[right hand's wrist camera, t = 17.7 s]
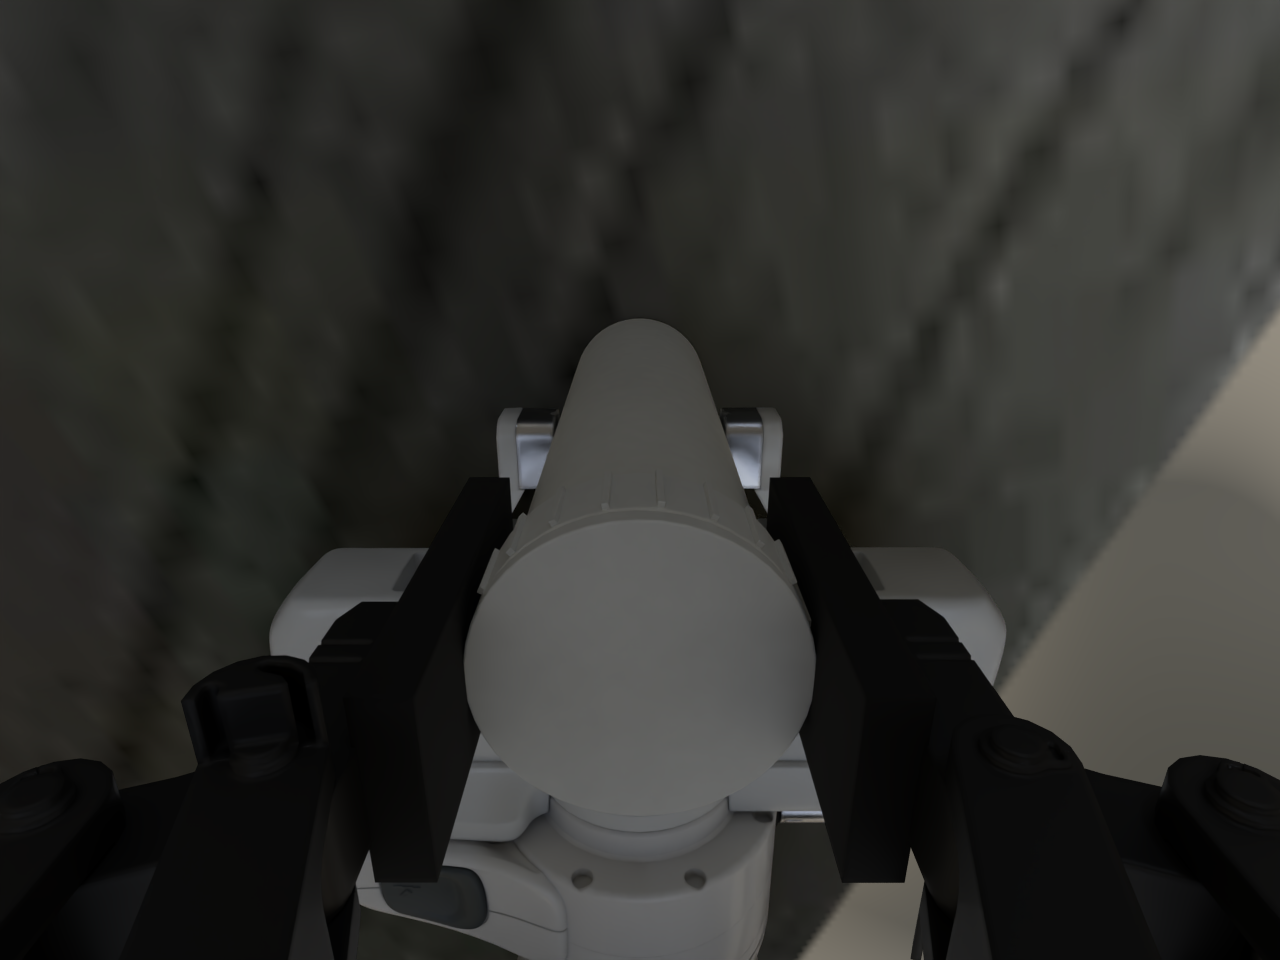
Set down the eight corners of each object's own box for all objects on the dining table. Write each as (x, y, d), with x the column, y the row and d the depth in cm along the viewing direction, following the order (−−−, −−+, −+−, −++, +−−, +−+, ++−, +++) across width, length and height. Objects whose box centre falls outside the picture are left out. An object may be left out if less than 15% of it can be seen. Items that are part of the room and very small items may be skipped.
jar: (679, 457, 27) (728, 802, 12) (561, 421, 27) (459, 734, 12) (721, 341, 26) (838, 569, 11) (596, 300, 25) (532, 479, 10)
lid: (863, 584, 12) (899, 649, 10) (669, 786, 13) (673, 870, 12) (603, 401, 11) (597, 439, 9) (423, 642, 12) (389, 713, 11)
